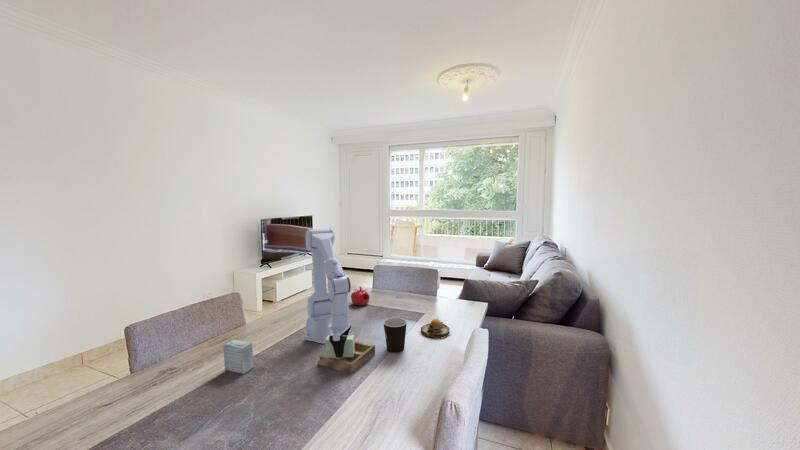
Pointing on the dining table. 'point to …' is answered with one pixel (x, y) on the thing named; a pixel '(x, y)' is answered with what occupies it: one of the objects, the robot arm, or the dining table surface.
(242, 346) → the medicine box
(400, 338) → the coffee mug
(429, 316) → the dining table surface
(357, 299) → the pomegranate
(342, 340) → the robot arm
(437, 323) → the burger
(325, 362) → the wooden compartment tray
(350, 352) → the pale green block
